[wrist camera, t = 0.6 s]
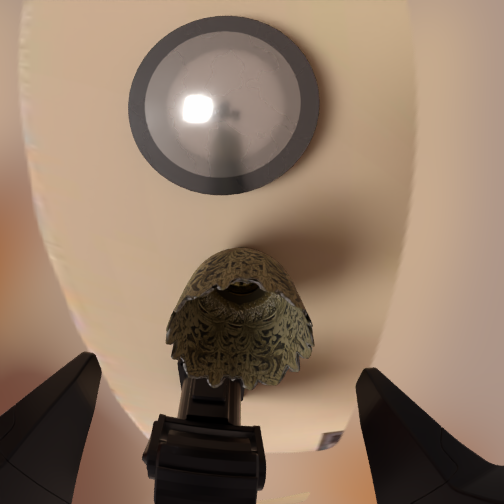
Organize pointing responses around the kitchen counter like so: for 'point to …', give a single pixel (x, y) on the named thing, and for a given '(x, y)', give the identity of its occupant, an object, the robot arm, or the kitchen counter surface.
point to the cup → (240, 321)
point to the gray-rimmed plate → (223, 105)
